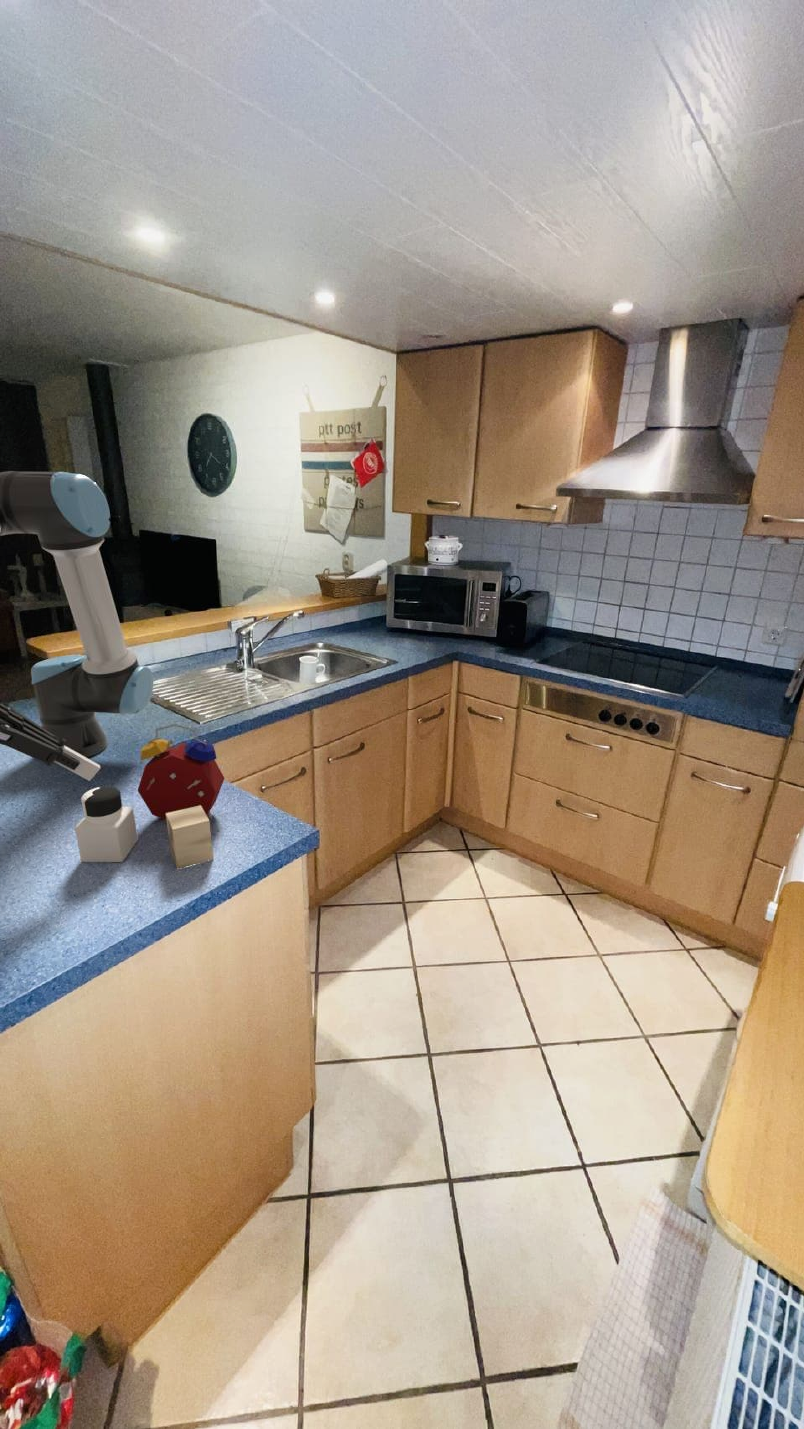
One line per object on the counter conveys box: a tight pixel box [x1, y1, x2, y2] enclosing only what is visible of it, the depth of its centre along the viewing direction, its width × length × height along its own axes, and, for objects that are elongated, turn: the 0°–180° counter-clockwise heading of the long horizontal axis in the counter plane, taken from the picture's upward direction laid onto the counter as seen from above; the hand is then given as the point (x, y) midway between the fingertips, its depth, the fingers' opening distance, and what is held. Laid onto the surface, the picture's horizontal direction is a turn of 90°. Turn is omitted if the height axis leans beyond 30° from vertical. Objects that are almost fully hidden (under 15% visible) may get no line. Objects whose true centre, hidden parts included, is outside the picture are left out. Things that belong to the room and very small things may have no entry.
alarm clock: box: [137, 723, 225, 821], centre depth 112 cm, size 15×9×20 cm, turn 90°
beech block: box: [166, 805, 214, 870], centre depth 103 cm, size 6×6×8 cm
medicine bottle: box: [74, 786, 138, 863], centre depth 103 cm, size 7×7×12 cm
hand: (94, 772), depth 99 cm, fingers closed
